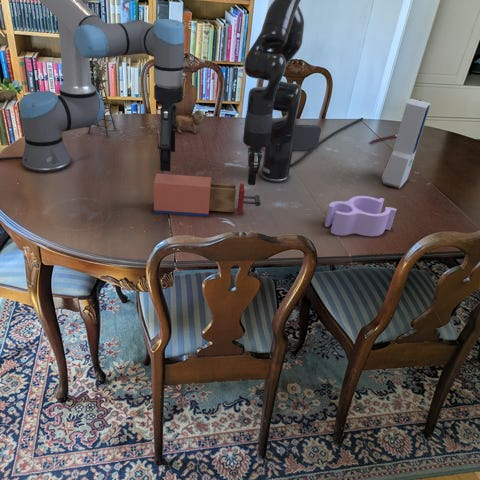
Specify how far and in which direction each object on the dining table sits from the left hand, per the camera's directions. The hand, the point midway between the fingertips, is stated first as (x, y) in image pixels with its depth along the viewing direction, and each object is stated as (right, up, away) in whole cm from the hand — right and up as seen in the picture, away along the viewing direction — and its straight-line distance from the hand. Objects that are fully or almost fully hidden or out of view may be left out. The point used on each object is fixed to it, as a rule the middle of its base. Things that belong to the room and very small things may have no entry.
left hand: (167, 160), depth 133 cm
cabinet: (+3, -13, +9) cm, 16 cm away
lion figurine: (-2, +23, +65) cm, 69 cm away
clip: (+56, -19, +10) cm, 60 cm away
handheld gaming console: (+42, +14, +58) cm, 73 cm away
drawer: (+16, -13, +9) cm, 23 cm away
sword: (+90, +24, +81) cm, 123 cm away
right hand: (+24, -6, +5) cm, 25 cm away
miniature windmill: (-35, +21, +56) cm, 69 cm away
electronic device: (+78, -1, +41) cm, 88 cm away
